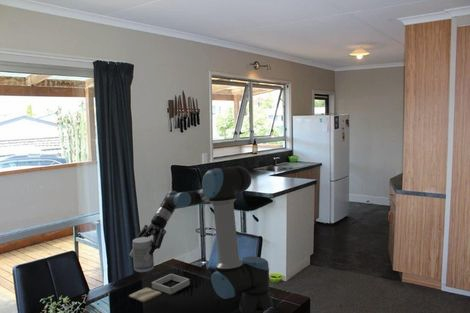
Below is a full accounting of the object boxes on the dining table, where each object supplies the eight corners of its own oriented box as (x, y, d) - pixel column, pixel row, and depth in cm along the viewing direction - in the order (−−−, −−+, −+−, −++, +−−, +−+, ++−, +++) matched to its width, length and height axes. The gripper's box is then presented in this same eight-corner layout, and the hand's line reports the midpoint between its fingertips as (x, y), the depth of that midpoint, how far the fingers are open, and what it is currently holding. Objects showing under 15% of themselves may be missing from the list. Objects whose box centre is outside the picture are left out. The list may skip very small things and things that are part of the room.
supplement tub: (156, 269, 193) (155, 240, 191) (137, 274, 188) (136, 244, 186) (149, 263, 201) (148, 235, 199) (131, 268, 196) (129, 239, 194)
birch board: (161, 293, 196) (161, 292, 196) (144, 302, 188) (143, 300, 188) (146, 288, 203) (146, 287, 203) (128, 296, 194) (128, 295, 194)
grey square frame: (189, 284, 206) (189, 279, 206) (170, 294, 196) (170, 288, 195) (171, 278, 215) (170, 273, 214) (151, 287, 204) (151, 282, 203)
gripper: (180, 225, 198) (158, 266, 187) (150, 219, 211) (127, 257, 200) (172, 217, 193) (149, 258, 182) (142, 211, 206) (118, 250, 195)
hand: (138, 258), depth 191 cm, fingers closed on supplement tub, 9 cm apart
